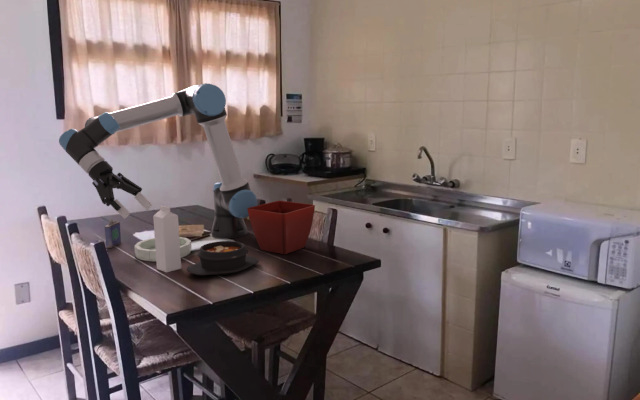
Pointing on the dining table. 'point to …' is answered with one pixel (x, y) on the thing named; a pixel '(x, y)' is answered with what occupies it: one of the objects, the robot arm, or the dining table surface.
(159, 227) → the milk
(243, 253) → the casserole
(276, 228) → the plant pot
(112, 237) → the flask
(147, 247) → the bowl
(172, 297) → the dining table surface
